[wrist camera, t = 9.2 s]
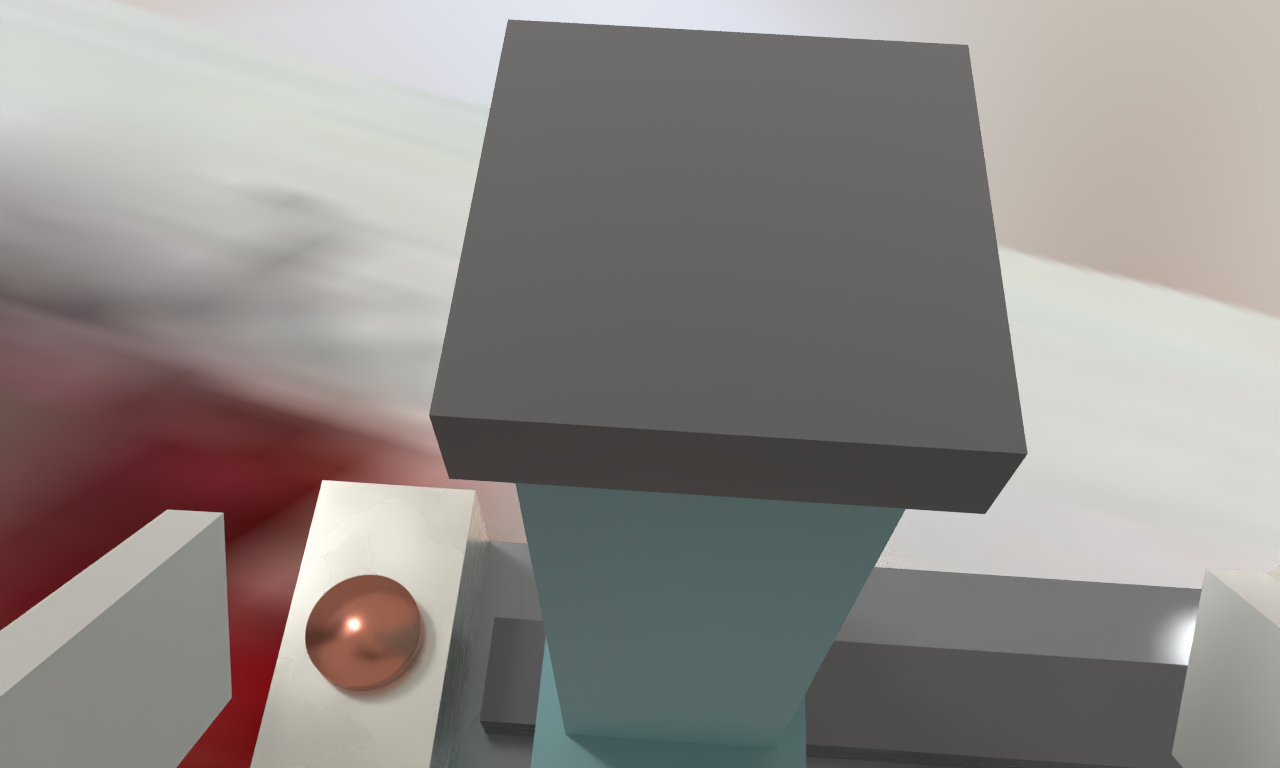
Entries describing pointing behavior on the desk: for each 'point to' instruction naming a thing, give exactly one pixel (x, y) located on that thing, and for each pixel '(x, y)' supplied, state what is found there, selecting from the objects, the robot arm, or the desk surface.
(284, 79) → the desk surface
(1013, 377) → the carriage
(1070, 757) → the rail
